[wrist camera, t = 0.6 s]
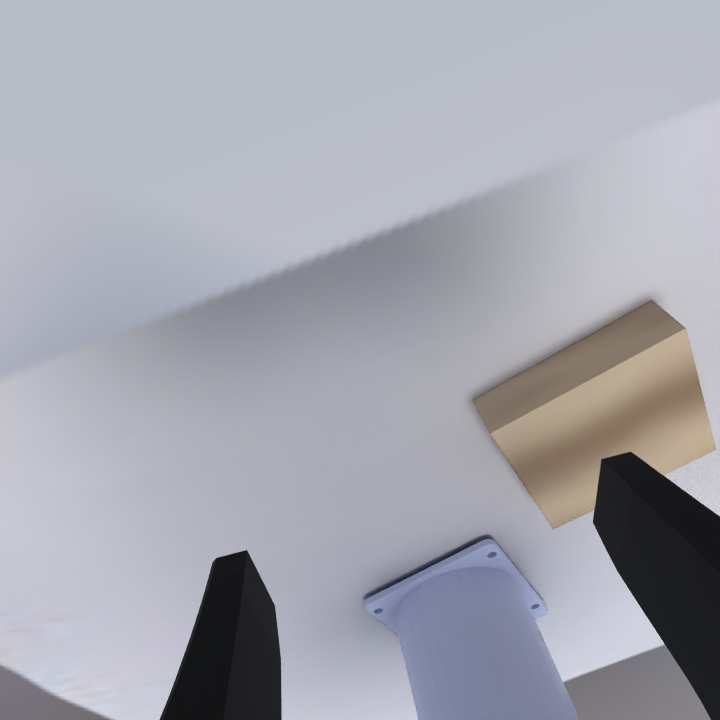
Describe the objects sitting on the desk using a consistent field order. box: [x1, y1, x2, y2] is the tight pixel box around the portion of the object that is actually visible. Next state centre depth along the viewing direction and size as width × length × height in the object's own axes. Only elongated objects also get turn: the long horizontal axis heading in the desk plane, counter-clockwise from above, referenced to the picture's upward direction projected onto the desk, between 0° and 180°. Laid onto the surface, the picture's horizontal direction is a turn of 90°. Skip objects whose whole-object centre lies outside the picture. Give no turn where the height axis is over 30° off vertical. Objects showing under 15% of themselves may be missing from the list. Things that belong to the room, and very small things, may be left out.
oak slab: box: [473, 300, 716, 529], centre depth 24 cm, size 8×8×2 cm
